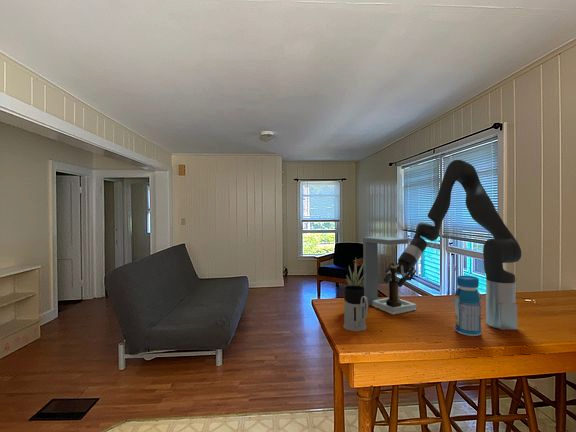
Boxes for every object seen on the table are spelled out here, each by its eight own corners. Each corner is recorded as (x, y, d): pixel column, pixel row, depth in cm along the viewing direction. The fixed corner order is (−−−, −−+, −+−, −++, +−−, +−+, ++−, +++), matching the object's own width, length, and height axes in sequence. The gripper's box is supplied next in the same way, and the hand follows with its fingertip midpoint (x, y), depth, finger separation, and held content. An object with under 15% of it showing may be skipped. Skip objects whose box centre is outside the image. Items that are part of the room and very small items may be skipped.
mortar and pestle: (398, 303, 144) (397, 265, 144) (404, 307, 138) (403, 267, 138) (384, 303, 144) (383, 265, 144) (389, 308, 138) (388, 267, 137)
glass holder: (359, 321, 124) (359, 284, 124) (378, 335, 110) (378, 293, 110) (339, 324, 122) (339, 286, 122) (356, 338, 108) (356, 295, 108)
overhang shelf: (389, 300, 153) (388, 235, 153) (416, 310, 138) (416, 238, 137) (363, 304, 146) (363, 237, 146) (389, 315, 131) (389, 240, 130)
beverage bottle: (468, 338, 107) (468, 280, 107) (449, 329, 115) (449, 275, 115) (487, 335, 109) (487, 278, 109) (467, 326, 117) (467, 274, 117)
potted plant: (371, 315, 131) (371, 257, 131) (352, 318, 128) (352, 259, 127) (358, 308, 140) (357, 254, 140) (339, 311, 137) (339, 256, 137)
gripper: (394, 250, 150) (376, 275, 146) (418, 253, 137) (399, 281, 133) (402, 260, 153) (385, 285, 148) (426, 264, 140) (408, 292, 135)
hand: (391, 283), depth 140 cm, fingers open, 8 cm apart
